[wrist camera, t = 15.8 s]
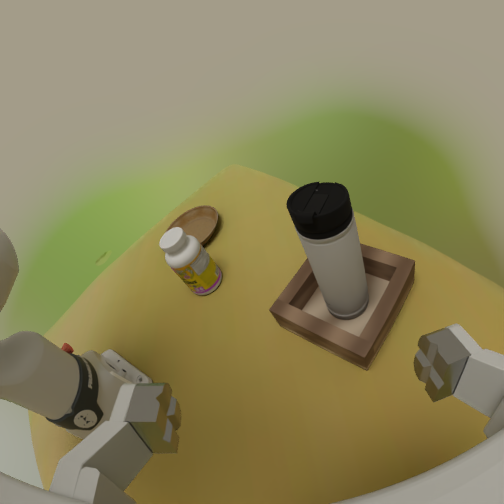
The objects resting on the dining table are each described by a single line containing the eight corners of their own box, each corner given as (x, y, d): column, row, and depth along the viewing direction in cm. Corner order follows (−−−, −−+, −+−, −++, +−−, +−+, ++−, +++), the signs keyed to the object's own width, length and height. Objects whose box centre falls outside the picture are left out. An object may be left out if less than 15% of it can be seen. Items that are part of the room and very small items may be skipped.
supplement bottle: (186, 289, 58) (147, 247, 49) (207, 264, 60) (173, 219, 52) (208, 302, 53) (167, 257, 45) (230, 274, 56) (195, 226, 47)
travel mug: (319, 317, 41) (272, 215, 28) (335, 279, 44) (298, 172, 31) (360, 327, 38) (335, 221, 24) (374, 287, 41) (354, 173, 27)
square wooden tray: (280, 326, 44) (268, 309, 41) (331, 253, 49) (325, 233, 46) (367, 370, 34) (364, 357, 31) (413, 281, 39) (414, 260, 36)
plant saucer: (167, 270, 65) (161, 263, 63) (168, 230, 75) (163, 223, 74) (227, 242, 63) (221, 234, 61) (219, 204, 73) (214, 196, 71)
